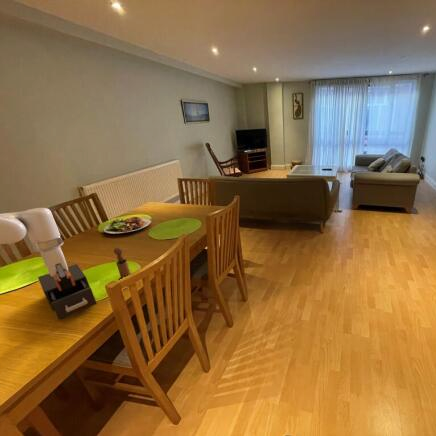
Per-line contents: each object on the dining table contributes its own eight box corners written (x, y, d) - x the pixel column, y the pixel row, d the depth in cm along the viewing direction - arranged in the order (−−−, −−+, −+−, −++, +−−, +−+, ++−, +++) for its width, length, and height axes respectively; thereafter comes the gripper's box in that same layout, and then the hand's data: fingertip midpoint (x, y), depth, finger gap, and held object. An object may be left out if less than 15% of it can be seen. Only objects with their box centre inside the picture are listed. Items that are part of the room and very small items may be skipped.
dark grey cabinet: (93, 294, 102) (85, 276, 98) (53, 311, 93) (43, 292, 89) (84, 281, 111) (76, 263, 107) (46, 295, 102) (37, 276, 98)
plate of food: (94, 233, 158) (91, 224, 155) (132, 218, 182) (130, 210, 180) (125, 239, 150) (123, 230, 147) (161, 222, 174) (159, 214, 172)
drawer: (100, 308, 93) (93, 292, 90) (61, 326, 85) (53, 309, 82) (87, 289, 104) (81, 274, 101) (52, 304, 96) (44, 288, 93)
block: (59, 291, 88) (55, 280, 87) (57, 286, 91) (52, 275, 89) (75, 285, 92) (71, 275, 90) (72, 280, 94) (68, 270, 93)
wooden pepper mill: (123, 288, 106) (112, 253, 99) (116, 283, 109) (104, 249, 102) (139, 280, 111) (129, 246, 104) (131, 276, 114) (121, 242, 108)
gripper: (29, 239, 87) (48, 281, 93) (36, 255, 77) (57, 300, 84) (57, 232, 92) (73, 272, 99) (67, 246, 82) (84, 289, 89)
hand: (65, 284), depth 91 cm, fingers closed on block, 4 cm apart
